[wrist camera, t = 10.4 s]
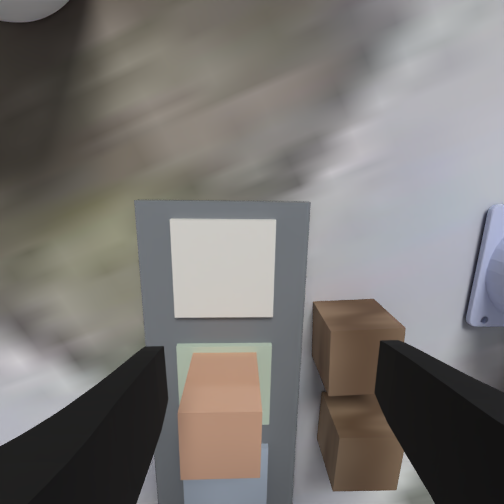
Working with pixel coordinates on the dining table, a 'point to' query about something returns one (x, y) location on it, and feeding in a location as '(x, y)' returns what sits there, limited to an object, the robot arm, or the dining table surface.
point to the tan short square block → (221, 417)
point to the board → (227, 323)
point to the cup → (28, 9)
